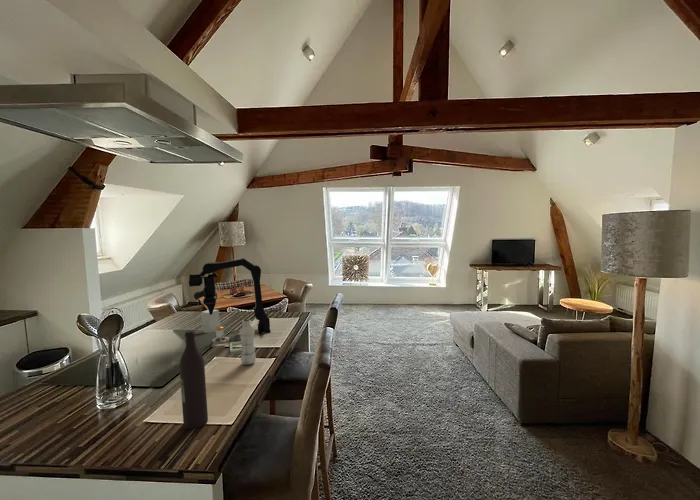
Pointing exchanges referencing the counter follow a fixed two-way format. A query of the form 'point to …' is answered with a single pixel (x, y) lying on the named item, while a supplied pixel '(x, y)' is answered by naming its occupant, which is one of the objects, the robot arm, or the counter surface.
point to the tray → (237, 349)
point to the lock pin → (219, 333)
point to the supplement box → (210, 321)
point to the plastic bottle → (247, 343)
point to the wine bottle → (193, 385)
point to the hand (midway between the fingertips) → (211, 312)
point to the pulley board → (227, 340)
